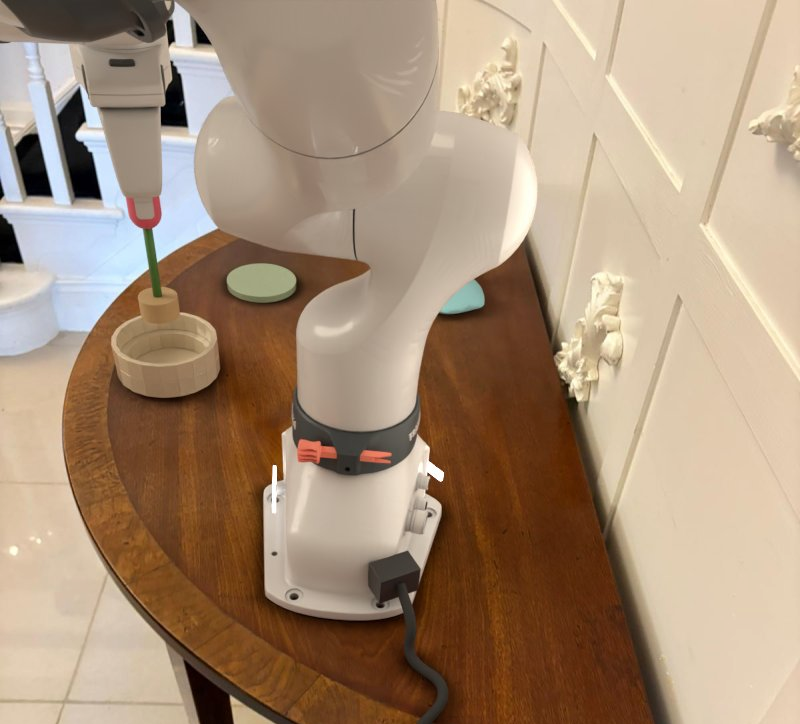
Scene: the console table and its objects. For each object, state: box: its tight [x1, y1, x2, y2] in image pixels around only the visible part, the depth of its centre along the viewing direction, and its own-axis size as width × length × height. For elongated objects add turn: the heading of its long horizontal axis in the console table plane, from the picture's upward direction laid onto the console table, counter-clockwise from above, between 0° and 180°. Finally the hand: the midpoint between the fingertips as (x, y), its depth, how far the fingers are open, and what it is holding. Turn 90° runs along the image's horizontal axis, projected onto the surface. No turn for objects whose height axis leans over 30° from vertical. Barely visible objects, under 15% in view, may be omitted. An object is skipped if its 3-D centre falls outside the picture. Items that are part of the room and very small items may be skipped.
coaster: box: [226, 262, 297, 304], centre depth 114 cm, size 10×10×1 cm
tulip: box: [125, 196, 181, 324], centre depth 87 cm, size 4×4×15 cm
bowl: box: [110, 311, 221, 399], centre depth 96 cm, size 12×12×5 cm
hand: (144, 207), depth 83 cm, fingers closed on tulip, 3 cm apart
